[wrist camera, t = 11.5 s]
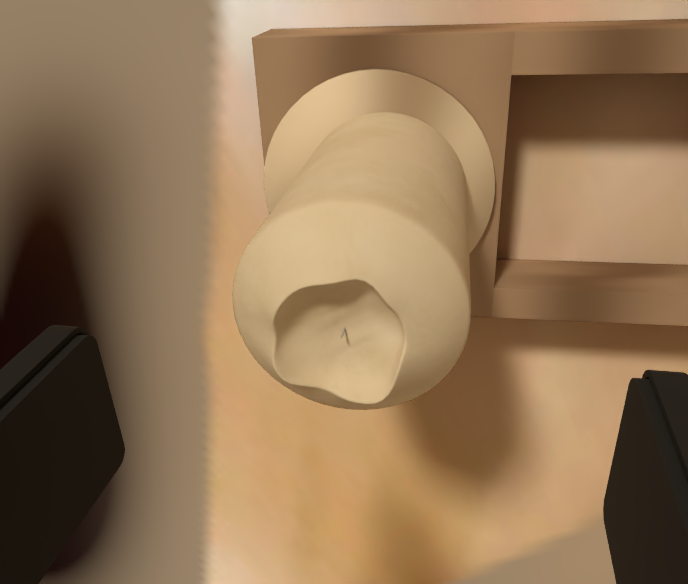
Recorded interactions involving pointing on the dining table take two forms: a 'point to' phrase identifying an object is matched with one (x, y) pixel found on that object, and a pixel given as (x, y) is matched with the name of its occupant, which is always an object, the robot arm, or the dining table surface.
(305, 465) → the dining table surface
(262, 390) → the dining table surface
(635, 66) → the wooden holder tray
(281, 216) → the candle
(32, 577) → the robot arm
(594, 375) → the dining table surface
